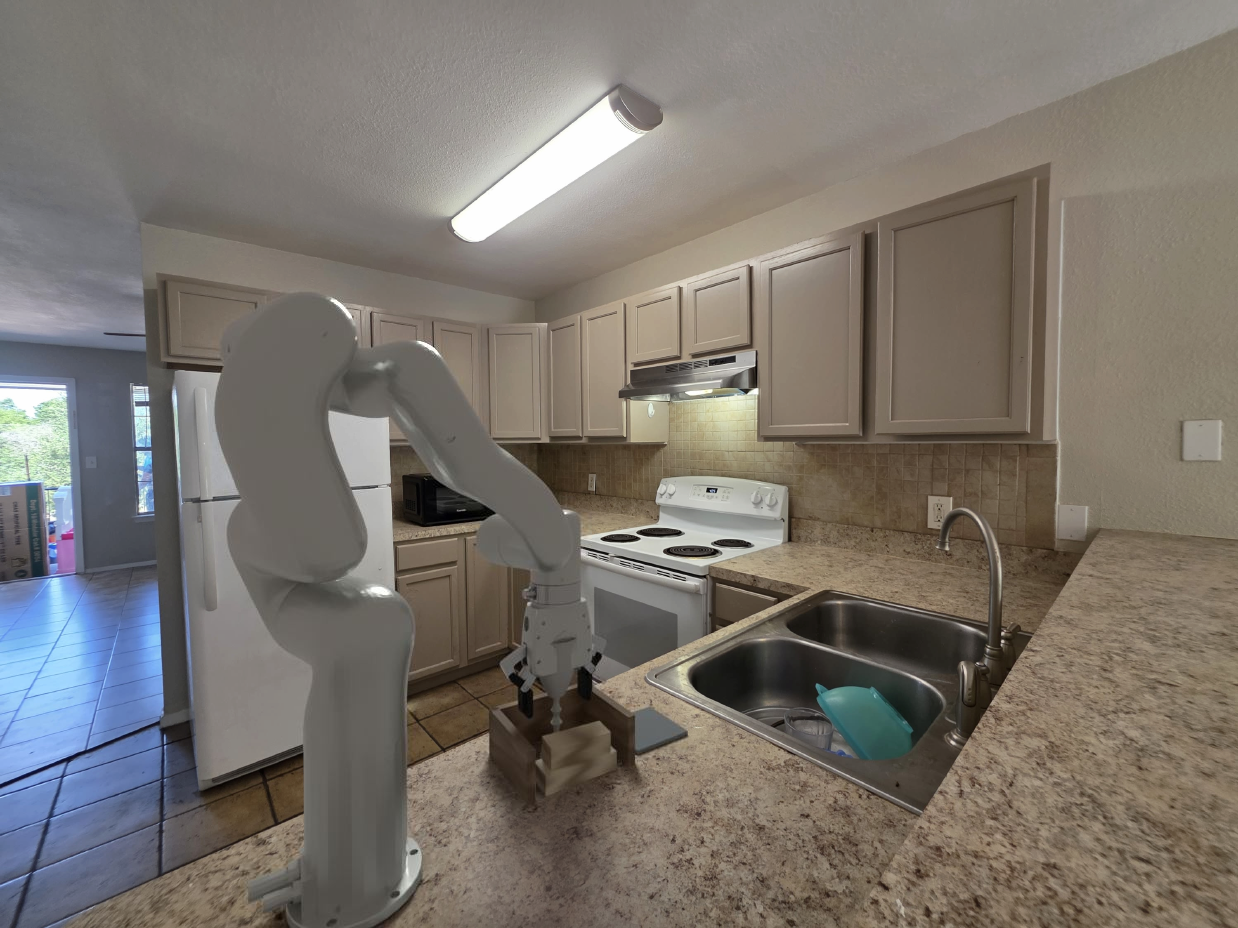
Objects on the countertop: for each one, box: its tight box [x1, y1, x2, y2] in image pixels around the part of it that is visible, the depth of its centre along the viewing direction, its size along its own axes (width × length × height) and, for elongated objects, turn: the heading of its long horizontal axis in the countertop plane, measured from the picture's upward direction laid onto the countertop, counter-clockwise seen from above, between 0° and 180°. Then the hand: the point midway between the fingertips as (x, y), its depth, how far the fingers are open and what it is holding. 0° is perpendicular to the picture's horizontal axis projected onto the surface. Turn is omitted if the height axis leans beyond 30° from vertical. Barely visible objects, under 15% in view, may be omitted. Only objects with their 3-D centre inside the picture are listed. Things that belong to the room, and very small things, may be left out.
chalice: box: [539, 639, 576, 759], centre depth 77 cm, size 7×7×18 cm
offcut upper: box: [541, 721, 611, 771], centre depth 72 cm, size 9×4×3 cm, turn 119°
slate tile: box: [631, 706, 689, 755], centre depth 83 cm, size 10×10×1 cm
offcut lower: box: [536, 747, 618, 797], centre depth 72 cm, size 11×4×3 cm, turn 122°
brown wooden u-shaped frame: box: [488, 683, 636, 808], centre depth 75 cm, size 17×14×7 cm
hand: (556, 705), depth 77 cm, fingers open, 9 cm apart
